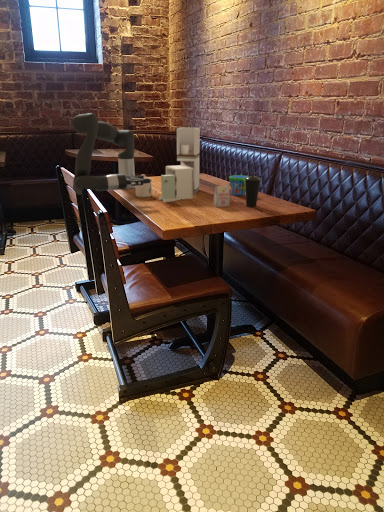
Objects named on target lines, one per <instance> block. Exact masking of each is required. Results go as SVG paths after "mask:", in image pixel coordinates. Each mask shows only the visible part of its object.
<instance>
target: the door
mask: <svg viewBox="0 0 384 512" xmlns="http://www.w3.org/2000/svg"><path fill="white" fill-rule="evenodd" d="M160 182H161V183H160V184H161V185H160V187H161V189H160V190H161V193H160V194H161V197H162V200H161V201H162V202H163V199H169V198H175V175H172V174H171V175H166V174H161V175H160Z"/></svg>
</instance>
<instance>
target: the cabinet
mask: <svg viewBox="0 0 384 512" xmlns="http://www.w3.org/2000/svg"><path fill="white" fill-rule="evenodd" d="M171 174H172V175H175V198H169V199H163V201H162V196H158V200H159V201H162V202H163V203H169V202H170V203H171V202H177V201H178V200H179V201H180V200H181V199H182V200H191V199H194V193H193V168H191V167H188V166H184V165H181V164H179V165H166V166H165V175H171Z"/></svg>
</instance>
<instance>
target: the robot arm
mask: <svg viewBox="0 0 384 512" xmlns="http://www.w3.org/2000/svg"><path fill="white" fill-rule="evenodd" d="M71 124H72V128H73V130H74V131H75V132H76V133H77V134H79V135H81V136H83V135H84V136H86V137H85V139H84V141H83V143H82V144H81V146H80V148H79V149H78V151H77V154H76V157H75V164H74V176H73V181H72V190H73V192H74V193H75V194H76V195H80V196H81V194H82V190H83V189H84V188H85V189H90V190H91V191H93V190H95V191H96V192H104V191H118V190H126V189H127V190H128V189H134V188H135V189H136V187H135V186H138V185H143V184H145V183H150V179H151V178H150V177H148V178H147V179H144V176H141V175H135V173H136V172H135V156H134V155H135V135H134V132H133V131H132V130H129V129H116V128H115V126H114V125H113V124H110V123H108V122H106V121H99V120H98V117H97V116H96V114H94V113H92V112H90V113H89V112H87V113H82V114H81V113H80V114H77V115H75V116H74V117H73V118H72V120H71ZM97 139H98V140H101V141H104V142H109V143H110V142H111V143H112V144H114V145H116V146H118V147H125V150H123V151H121V152H119V153H118V154H117V157H118V158H117V161H118V173H116V174H115V173H113V174H107V175H98V176H95V175H90V174H91V173H90V172H91V168H92V158H93V157H92V156H93V152H94V148H95V143H96V140H97ZM149 178H150V179H149ZM139 181H141V183H139Z"/></svg>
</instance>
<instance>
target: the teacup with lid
mask: <svg viewBox="0 0 384 512" xmlns="http://www.w3.org/2000/svg"><path fill="white" fill-rule="evenodd" d="M140 176H144V179H147V178H149V179H150V183H145V184H143V185H138V186H135V196H136V197H138V198H150V197H151V196H152V194H153V193H152V178H151V177H148V176H146V174H141V175H140ZM139 183H141V181H139Z"/></svg>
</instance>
